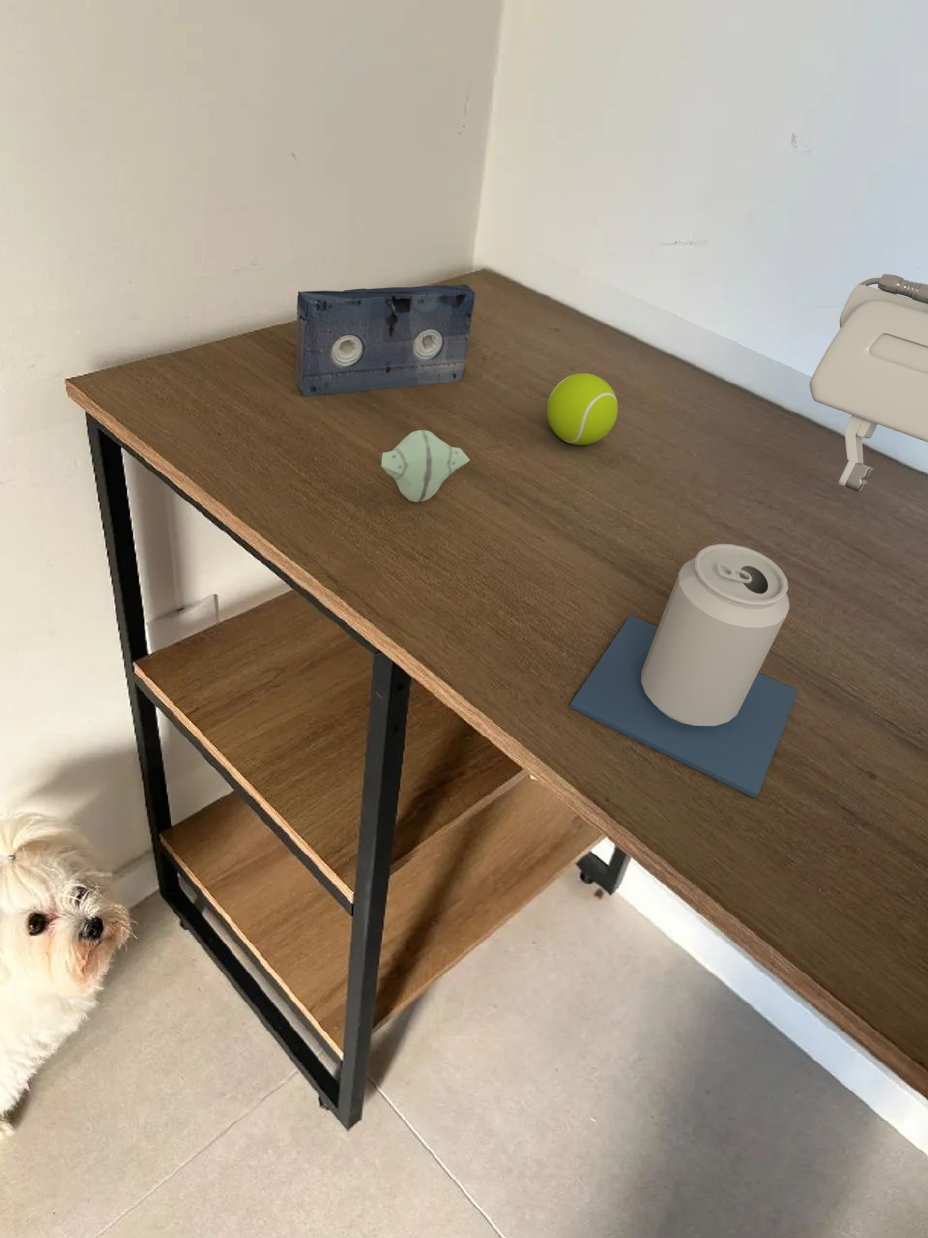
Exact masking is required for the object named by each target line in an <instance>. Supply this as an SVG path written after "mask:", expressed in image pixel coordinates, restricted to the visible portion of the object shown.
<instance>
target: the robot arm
mask: <svg viewBox="0 0 928 1238" xmlns="http://www.w3.org/2000/svg"><path fill="white" fill-rule="evenodd" d="M871 285H872V286H873V285H877V288H875V287H872V286H871ZM839 327H840V328H839V330H838V331H837V332H836V334H835V336H834V338H833V339H832V341H831V343H830V344H829V346H828V347H827V348H826V350H825V352H824V354H823V356H822V357H821V359H820V361H819V363H818V365H817V366H816V368H815V370H814V372H813V374H812V376H811V378H810V381H809V389H810V393H811V397H812V400H813V401H814V402H816V403H819V404H821V405H824V406H827V407H829V408H833V409H835V410H837V411H840V412H844V413H846V414H849V415H851V416H850V419H849V421H848V423H847V425H846V427H845V429H844V441H845V449H846V450H845V451H846V460H848V461H847V462H846V465H845V467H844V468H843V470H842V474H841V475H840V477H839V480H838V485H839V486H842V487H844V488H846V489H849V490H852V491H854V492H857V493H862V492H863V491H864V489H865V488H866V486H867V484H868V483H867V480H868V479H870V478H871V476H872V474H873V473H874V469H875V468H873V467H870V466H868V465H866V464H864V451H863V438H864V439H871V438H872V436H873V434H874V433H875V430H876V428H877V426H878V425H880V426H882V427H885V428H887V429H890V430H893V431H896V432H899V433H901V434H904V435H906V436H908V437H911V438H915V439H917V440H920V441H922V442H926V443H928V284H927V283H921V282H916V281H915V282H914V281H911V280H907V279H905V278H904V277H902V276H899V275H896V274H892V273H891V274H890V273H884V274H882V275H881V276H880V277H872V278H868V279H866V280H863V281H861V282H860V283H859V284H857V285H856V286H855V287H854V288H853V289H852V290H851V292H850V294H849V296H848V297H847V300H846V302H845V305H844V307H843V309H842V311H841V314H840V317H839Z"/></svg>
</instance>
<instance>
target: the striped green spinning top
mask: <svg viewBox="0 0 928 1238" xmlns="http://www.w3.org/2000/svg"><path fill="white" fill-rule="evenodd" d="M470 461H471V459H470V458H469V457H468V456H467V455H466V453H465V452H464V450H463V449H462V448H461V447H456V446H455V447H453V446H451V445H450V444H447V442H446V441H443V440H442V439H440V438H438V436H436V435H435V434H434V433H433V432H431V430H425V429H418V430H415V431H411V432H410V433H408V434H407V435H406V436H405V437H404V438H403V439H402V440H400V442H399V443H398V444H397V445H396V446H395V447H394V448H393V449H392V450H391V451H386V452H382V455H381V468H382V469H383V471H385V472H386V474H387V475H389V476H390V477H391V478H392V479H394V481H395V483H396V485H397V487H398V489H399V492H400V493H401V494H402V495H403V496H404V498H406V499H407V500H408V501H409V502H413V503H422V502H426V501H428V500H430V499H431V498H432V497H433V496H434V495H436V493H438V491H439V489H440V488H441V486H442V484H443V482H445V480H446V479H447V478H449V476H450V475H452V474H453V473H454V472H456V471H457V470H459V469H460V468H461V467H463V466H464V465H466V464H467V463H469V462H470Z"/></svg>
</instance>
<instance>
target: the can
mask: <svg viewBox="0 0 928 1238" xmlns="http://www.w3.org/2000/svg"><path fill="white" fill-rule="evenodd" d="M788 590H789V584H788V578H787V576H786V575H785V573H784V572H783V570H782V569H781V567H779V566H778V565H777V563H775V562H774V561H773V560H772V559H771V558H769V557H767V556H765V555H764V554H763V553H761V552H759V551H756V550H753V549H751V548H748V547H746V546H741V545H736V544H734V543H733V544H731V543H718V544H717V543H716V544H711V545H708V546H706V547H704V548H702V549H700V550H699V551H698V552H697V554H696V555H695V557H694V558H692V559H690V560H688V561H687V562H684V563H683V565H682V567H681V569H680V570H679V571H678V574H677V577H676V580H675V582H674V585H673V587H672V590H671V592H670V595H669V598H668V600H667V603H666V606H665V608H664V611H663V614H662V617H661V619H660V622H659V624H658V626H657V627H658V629H657V632H656V634H655V637H654V640H653V642H652V645H651V648H650V650H649V653H648V655H647V658H646V661H645V663H644V666H643V669H642V673H641V683H642V685H643V688H644V691H645V693H646V695H647V696H648V697H649V698H650V700H651V701H652V702H653V703H654V705H655V706H657V708H658V709H659V710H660V711H662V712H663V713H664V714H666V715H667V716H668V717H670V718H672V719H674V720H676V721H678V722H680V723H684V724H688V725H693V726H716V725H720V724H723V723H726V722H729V721H730V720H731V719H732V718H734V717H735V716H736V715H737V714H738V712H739V710H740V708H741V706H742V704H743V702H744V700H745V698H746V696H747V694H748V692H749V690H750V688H751V686H752V684H753V682H754V680H755V678H756V676H757V674H758V673H760V670H761V668H762V666H763V664H764V662H765V660H766V657H767V655H768V654H769V652H770V649H771V647H772V646H773V644H774V641H775V640H776V638H777V635H778V633H779V632H780V629H781V627H782V626H783V623H784V621H785V619H786V617H787V616H788V613H789V610H790V601H789V596H788V594H787V592H788Z"/></svg>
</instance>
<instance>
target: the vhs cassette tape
mask: <svg viewBox="0 0 928 1238" xmlns="http://www.w3.org/2000/svg"><path fill="white" fill-rule="evenodd" d="M475 299H476V292H475V291H474V290H473V289H472V288H471V287H470V286H469V285H468V284H459V285H457V284H456V285H455V284H454V285H452V284H451V285H450V284H449V285H448V284H447V285H446V284H443V285H441V284H440V285H420V286H406V287H405V286H404V287H402V286H401V287H400V286H399V287H398V286H397V287H393V286H392V287H390V286H389V287H376V288H355V289H344V290H310V291H309V290H308V291H307V290H306V291H305V290H304V291H297V300H296V301H297V302H296V303H297V304H296V315H297V317H296V329H295V330H296V331H295V332H296V336H295V341H296V343H295V344H296V345H295V346H296V347H295V369H294V383H295V385H296V387H297V388H298V391H299V392H300V393H301V394H302V396H303V397H315V396H322V395H336V394H345V393H346V394H347V393H358V392H367V391H378V390H384V389H400V388H408V387H419V386H428V385H429V386H430V385H436V384H437V385H438V384H449V383H458V382H461V381H462V380H463V378H464V373H465V362H466V358H467V351H468V345H469V336H470V332H471V324H472V322H473V313H474V312H473V311H474V307H475Z"/></svg>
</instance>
